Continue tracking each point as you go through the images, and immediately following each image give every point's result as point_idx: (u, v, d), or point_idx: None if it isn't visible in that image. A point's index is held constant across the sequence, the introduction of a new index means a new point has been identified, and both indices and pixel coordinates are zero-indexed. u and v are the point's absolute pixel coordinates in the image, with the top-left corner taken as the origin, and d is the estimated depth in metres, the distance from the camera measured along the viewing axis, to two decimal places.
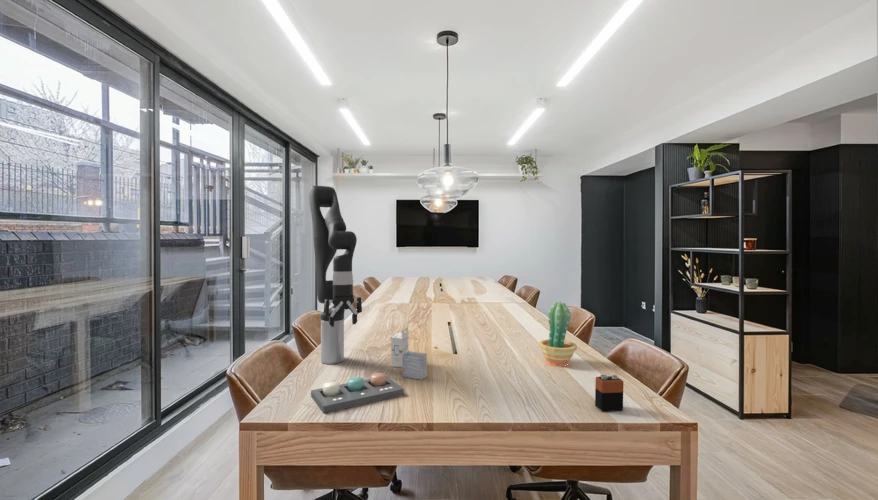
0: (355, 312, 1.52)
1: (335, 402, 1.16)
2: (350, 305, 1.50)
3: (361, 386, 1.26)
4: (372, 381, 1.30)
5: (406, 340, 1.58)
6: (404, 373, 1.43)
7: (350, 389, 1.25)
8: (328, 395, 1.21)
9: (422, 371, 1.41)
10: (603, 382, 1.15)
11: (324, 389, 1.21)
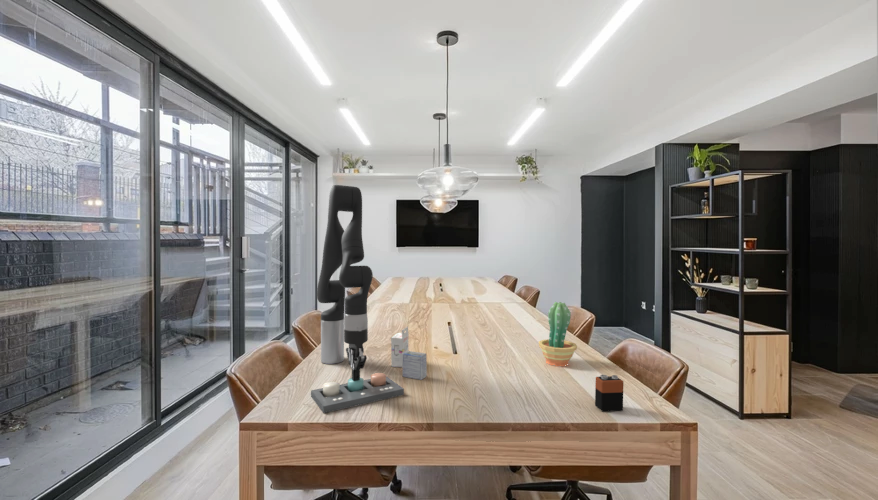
0: None
1: (335, 402, 1.16)
2: None
3: (361, 386, 1.26)
4: (372, 381, 1.30)
5: (406, 340, 1.58)
6: (404, 373, 1.43)
7: (350, 389, 1.25)
8: (328, 395, 1.21)
9: (422, 371, 1.41)
10: (603, 382, 1.15)
11: (324, 389, 1.21)
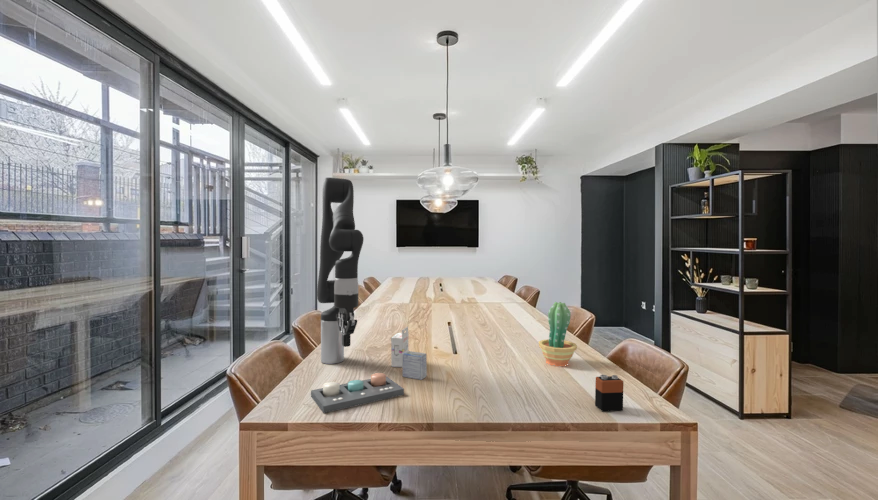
0: None
1: (335, 402, 1.16)
2: None
3: (361, 389, 1.26)
4: (372, 381, 1.30)
5: (406, 340, 1.58)
6: (404, 373, 1.43)
7: None
8: (328, 395, 1.21)
9: (422, 371, 1.41)
10: (603, 382, 1.15)
11: (324, 389, 1.21)
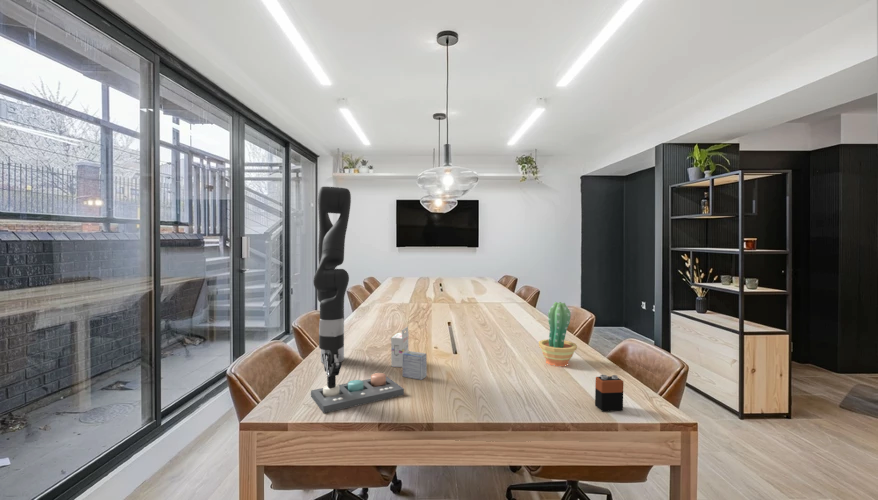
0: None
1: (335, 402, 1.16)
2: None
3: (361, 389, 1.26)
4: (372, 381, 1.30)
5: (406, 340, 1.58)
6: (404, 373, 1.43)
7: None
8: None
9: (422, 371, 1.41)
10: (603, 382, 1.15)
11: (324, 392, 1.21)
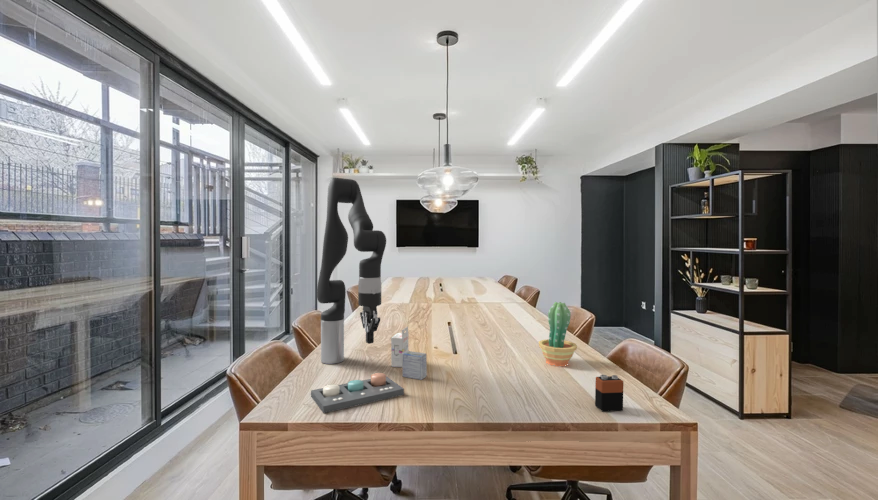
0: None
1: (335, 402, 1.16)
2: None
3: (361, 389, 1.26)
4: (372, 381, 1.30)
5: (406, 340, 1.58)
6: (404, 373, 1.43)
7: None
8: None
9: (422, 371, 1.41)
10: (603, 382, 1.15)
11: (324, 392, 1.21)
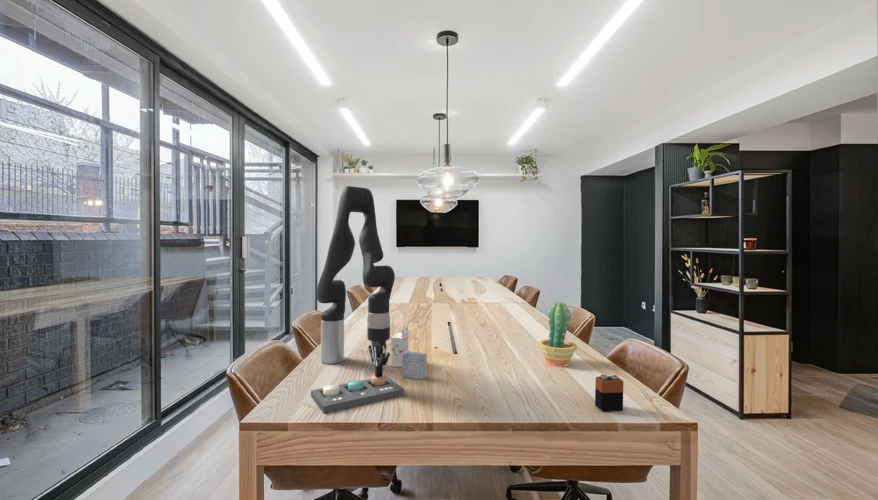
0: None
1: (335, 402, 1.16)
2: None
3: (361, 389, 1.26)
4: (372, 382, 1.30)
5: (406, 340, 1.58)
6: (404, 373, 1.43)
7: None
8: None
9: (422, 371, 1.41)
10: (603, 382, 1.15)
11: (324, 392, 1.21)
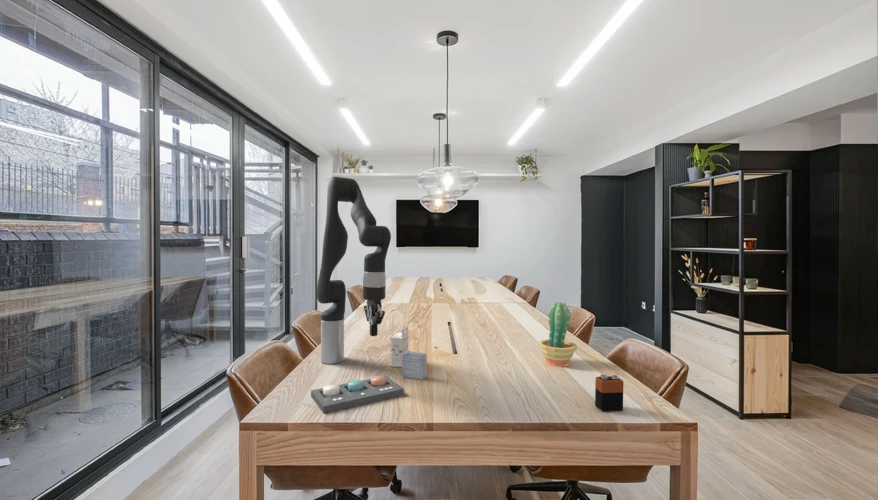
0: None
1: (335, 402, 1.16)
2: None
3: (361, 389, 1.26)
4: (372, 384, 1.30)
5: (406, 340, 1.58)
6: (404, 373, 1.43)
7: None
8: None
9: (422, 371, 1.41)
10: (603, 382, 1.15)
11: (324, 392, 1.21)
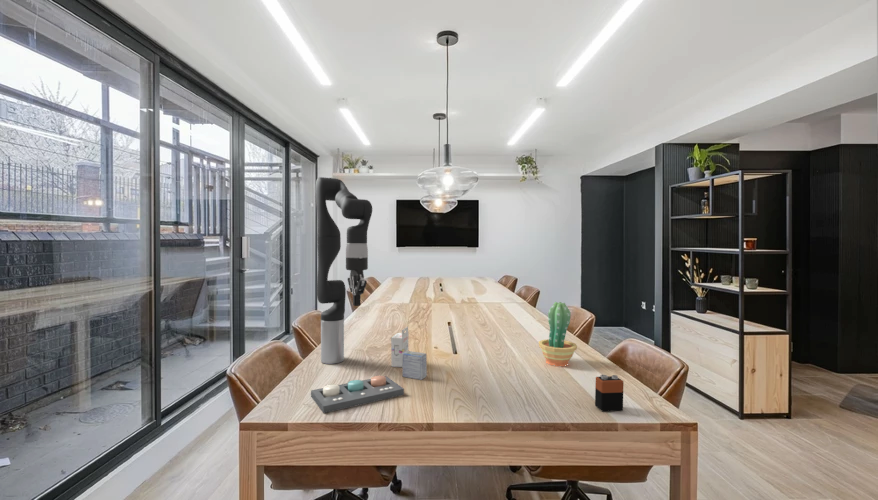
0: None
1: (335, 402, 1.16)
2: None
3: (361, 389, 1.26)
4: (372, 384, 1.30)
5: (406, 340, 1.58)
6: (404, 373, 1.43)
7: None
8: None
9: (422, 371, 1.41)
10: (603, 382, 1.15)
11: (324, 392, 1.21)
